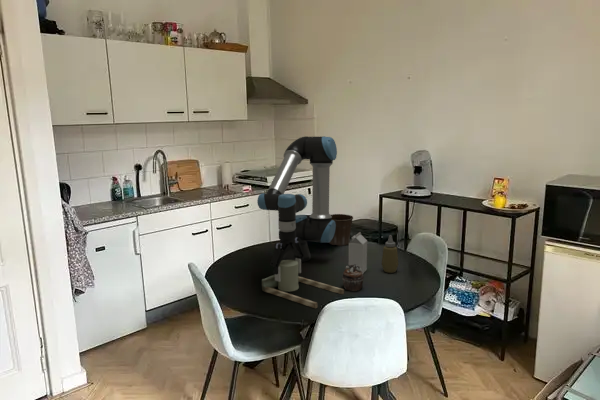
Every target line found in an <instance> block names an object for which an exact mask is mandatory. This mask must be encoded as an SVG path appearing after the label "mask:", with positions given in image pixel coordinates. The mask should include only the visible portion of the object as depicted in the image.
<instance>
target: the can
mask: <svg viewBox="0 0 600 400" xmlns="http://www.w3.org/2000/svg"><path fill="white" fill-rule="evenodd" d="M279 267H280V278H281V281H280V282H279V281H278V287H277V290H280V291H283V292H286V293H288V292H290V293H291V292H296V291H298V289H299V288H300V286H299V282H298V276H299V273H298V262H297V261H295V260H283V259H282V261H281V263H280V265H279Z"/></svg>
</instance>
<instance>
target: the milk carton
mask: <svg viewBox="0 0 600 400" xmlns="http://www.w3.org/2000/svg"><path fill="white" fill-rule="evenodd" d="M354 264H356V266H359V267H360V268H361V269H362V270H361V272H362V274H363V275H364V273H365V272H366V271H367V270H368V239H366V238H365V237H364V236H363V235H362V233H361V231H359V232H358V233H357V234H355V235H353V236H351V240H350V241H349V244H348V265H354Z"/></svg>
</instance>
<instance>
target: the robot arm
mask: <svg viewBox="0 0 600 400" xmlns="http://www.w3.org/2000/svg"><path fill="white" fill-rule="evenodd" d="M337 150H338V149H337V144H336V141H335V139H334V138H333V137H331V136H305V135H304V136H301V137H299V138H296V139H295V140H294V141H292V143H290V145H289V146H287V148H285V151H284V153H283V159H282V161H281V163H280V166H279V167H278V169H277V171H276V174H275V176H274V177H273V179H272V181H271V182H270V183H271V184H270V185H269V187H268V189H267V191H266V193H264V192H263V193H260V194H259V195H258V197H257V207H258V208H259V209H260V210H265V211H274V212H275V211H277V213H278V215H277V216H278V239H279V241H280V242H279V243H274V250H273V252H272V255H271V260H270V262H269V266H271V267H273V275H275V281H279V282H280V281H281V278H280V267H279V265H280V263H281V261H282V260H295V261H297V262H298V274H301V273H302V263H304V262H308V261H309V260H311V253H310V249H309V246H308V242H316V243H321V244H322V243H329V242H330V241H331V240H332V239H333V236H334V234H335V229H336V224H335V221H333V220H332V216H331V215H332V214H330V175H331V174H330V167H331V166H332V165H333V164H334V163H333V161H335V160H336V159H337V156H338V155H337V154H338V151H337ZM303 160H309V165H311V166H312V167H311V168H312V195H311V197H312V203H311V204H312V205H311V206H312V210H311V211H312V212H311V214H310V215H309V218H308V215H307V214H297V213H300V212H302V211H303V210H305V209H306V208H307V206H308V199H307V197H306V196H305V195H304V194H301V193H297V194H293V193H285V191H286V190H287V188H288V186H289V184H290V181H291V179H292V177H293V175H294V174H295V171H296V169H297V167H298V165H300V164H301V163H302V161H303Z"/></svg>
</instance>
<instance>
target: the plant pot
mask: <svg viewBox="0 0 600 400" xmlns="http://www.w3.org/2000/svg"><path fill="white" fill-rule="evenodd" d="M330 215H331V216H332V220H333V221H335V224H336V229H335V234H334V236H333V239H332V240H331V241H330V242H328V243H329V244H330V245H333V246H335V245H336V246H340V247H342V246H346V245H348V246H349V242H350V241H351V240H350V239H351V232H352V224H353V219H354V216H353V215H350V214H345V213H334V214H330Z"/></svg>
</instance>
